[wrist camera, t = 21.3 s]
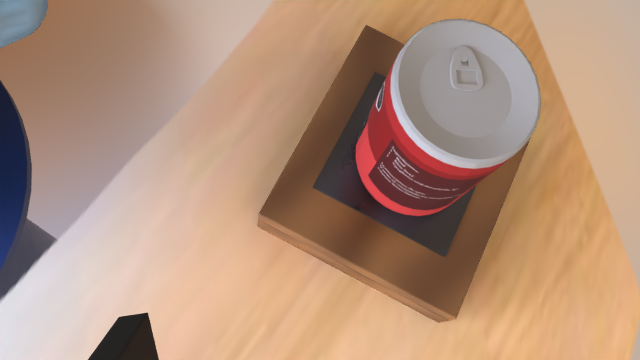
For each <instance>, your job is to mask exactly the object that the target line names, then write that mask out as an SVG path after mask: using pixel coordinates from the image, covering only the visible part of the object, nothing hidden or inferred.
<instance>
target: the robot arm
mask: <svg viewBox="0 0 640 360" xmlns="http://www.w3.org/2000/svg"><path fill="white" fill-rule="evenodd" d="M47 8H48V1H47V0H0V48H2V47H4V46H6V45H8V44H11V43H13V42H15V41H17V40H19V39H22V38H24V37H26V36H28V35H30V34H32V33H33V32H34V31H35V30H37V29H38V27H39V26H40V25H41V22H42V21H43V20H44V18H45V16H46V12H47ZM88 360H159V359H158V354H157V350H156V346H155V341H154V337H153V333H152V329H151V324H150V320H149V316H148V313H143V314H136V315H129V316H122V317H119V318H118V319H117V321H116V322H115V323H114V325H113V326H112V327H111V329H110V330H109V332H108V333H107V334H106V336H105V337H104V338H103V340H102V341H101V343H100V344H99V345H98V347H97V348H96V349H95V351H94V352H93V354H92V355H91V356H90V358H89V359H88Z"/></svg>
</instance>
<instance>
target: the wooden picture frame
mask: <svg viewBox="0 0 640 360" xmlns="http://www.w3.org/2000/svg"><path fill="white" fill-rule="evenodd" d="M404 46H405V45H404V44H402V43H400V42H398V41H396V40H395V39H393V38H391V37H389V36H387V35H385V34H383V33H381V32H379V31H377V30H375V29H373V28H371V27H369V26H367V25H366V26H365V27H364V29H363V31H362V32H361V34H360V36H359V38H358V40H357V41H356V43H355V45H354V47H353V48H352V50H351V52H350V54H349V55H348V57H347V59H346V61H345V62H344V64H343V66H342V68H341V70H340V71H339V73H338V75H337V77H336V78H335V80H334V82H333V84H332V85H331V87H330V89H329V91H328V92H327V94H326V96H325V98H324V100H323V101H322V103H321V105H320V107H319V108H318V110H317V112H316V114H315V115H314V117H313V119H312V121H311V122H310V124H309V126H308V128H307V129H306V131H305V133H304V135H303V137H302V138H301V140H300V142H299V144H298V145H297V147H296V149H295V151H294V152H293V154H292V156H291V158H290V159H289V161H288V163H287V165H286V167H285V168H284V170H283V172H282V174H281V175H280V177H279V179H278V181H277V182H276V184H275V186H274V188H273V189H272V191H271V193H270V195H269V197H268V198H267V200H266V202H265V204H264V205H263V207H262V209H261V211H260V212H259V218H258V225H257V226H258V227H259V228H261V229H263V230H265V231H267V232H269V233H271V234H273V235H275V236H276V237H278V238H280V239H282V240H284V241H286V242H288V243H290V244H292V245H293V246H295V247H297V248H299V249H301V250H303V251H305V252H307V253H308V254H310V255H312V256H314V257H316V258H318V259H320V260H322V261H324V262H325V263H327V264H329V265H331V266H333V267H335V268H337V269H339V270H340V271H342V272H344V273H346V274H348V275H350V276H352V277H354V278H356V279H357V280H359V281H361V282H363V283H365V284H367V285H369V286H371V287H372V288H374V289H376V290H378V291H380V292H382V293H384V294H386V295H388V296H389V297H391V298H393V299H395V300H397V301H399V302H401V303H403V304H405V305H406V306H408V307H410V308H412V309H414V310H416V311H418V312H420V313H421V314H423V315H425V316H427V317H429V318H431V319H433V320H435V321H437V322H443V321H447V320H450V319H455V318H456V317H457V315H458V313H459V310H460V308H461V305H462V303H463V300H464V298H465V296H466V293H467V291H468V288H469V286H470V284H471V281H472V279H473V276H474V274H475V271H476V269H477V267H478V264H479V262H480V259H481V257H482V254H483V252H484V250H485V247H486V245H487V242H488V240H489V237H490V235H491V233H492V230H493V228H494V225H495V223H496V220H497V218H498V216H499V213H500V211H501V208H502V206H503V203H504V201H505V199H506V196H507V194H508V191H509V189H510V186H511V184H512V182H513V179H514V177H515V174H516V172H517V169H518V167H519V165H520V162H521V160H522V157H523V155H524V152H525V150H526V148H527V145H528V143H529V140H530V138H531V137H530V138H529V140H528V141H527V142H526V143H525V145H524V146H523V147H522V148H521V149H520V150H519V151H518V152H517V153H516V154H515V155H514V156H513V157H512V158H510V159H509V160H508V161H507V162H506V163H505V164H503V165H502V166H501V167H499V168H498V169H497V170H495V171H494V172H493V173H491V174H490V175H489V176H487V177H486V178H485V179H483V180H482V181H481V182H480V183H478V184H477V185H476V186H474V187H473V188H472V189H470V190H469V191H468V192H466V193H465V194H464V195H462V196H461V197H460V198H459V199H457V200H456V201H455V202H453V203H452V204H451V205H449V206H448V207H446V208H444V209H443V210H441V211H439V212H436V213H433V214H430V215H423V216H413V215H404V214H401V213H398V212H394V211H392V210H390V209H388V208H386V207H384V206H383V205H382V204H380V203H379V202H378V201H377V200H375V199H374V197H373V196H372V195H371V194H370V193H369V192H368V190H367V189H366V187H365V185H364V184H363V182H362V179H361V177H360V174H359V171H358V168H357V162H356V143H357V139H358V135H359V133H360V130H361V128H362V126H363V124H364V122H365V120H366V118H367V116H368V114H369V112H370V110H371V108H372V106H373V104H374V102H375V100H376V98H377V96H378V94H379V91H380V89H381V87H382V85H383V83H384V81H385V79H386V77H387V75H388V73H389V71H390V69H391V67H392V65H393V63H394V61H395V60H396V58H397V56H398V54H399V52H400V51H401V50H402V48H403V47H404Z"/></svg>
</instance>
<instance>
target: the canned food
mask: <svg viewBox="0 0 640 360" xmlns="http://www.w3.org/2000/svg"><path fill="white" fill-rule="evenodd" d="M540 109H541V95H540V87H539V83H538V80H537V76H536V74H535V72H534V69H533V67H532V65H531V63H530V61H529V60H528V59H527V57H526V56H525V54H524V53H523V51H522V50H521V49H520V48H519V47H518V46H517V45H516V44H515V43H514V42H513V41H512V40H511V39H510V38H508V37H507V36H506V35H504V34H503V33H501V32H500V31H498V30H496V29H494V28H492V27H490V26H488V25H486V24H483V23H480V22H477V21H473V20H466V19H447V20H442V21H438V22H435V23H432V24H430V25H428V26H426V27H424V28H422V29H420V30H419V31H418V32H417V33H416V34H414V35H413V36H412V37H411V38H410V39H409V41H408V42H407V43H406V44H405V46H404V47H403V48H402V50H401V51H400V52H399V54H398V56H397V58H396V60H395V61H394V63H393V65H392V67H391V69H390V71H389V73H388V75H387V77H386V79H385V81H384V83H383V85H382V87H381V89H380V91H379V94H378V96H377V98H376V100H375V102H374V104H373V106H372V108H371V110H370V112H369V114H368V116H367V118H366V120H365V122H364V124H363V126H362V128H361V130H360V133H359V135H358V139H357V143H356V162H357V168H358V171H359V174H360V177H361V179H362V182H363V184H364V185H365V187H366V189H367V190H368V192H369V193H370V194H371V195H372V196H373V197H374V199H375V200H377V201H378V202H379V203H380V204H382V205H383V206H384V207H386V208H388V209H390V210H392V211H394V212H398V213H401V214H404V215H413V216H423V215H430V214H433V213H436V212H439V211H441V210H443V209H444V208H446V207H448V206H449V205H451V204H452V203H453V202H455V201H456V200H457V199H459V198H460V197H461V196H462V195H464V194H465V193H466V192H468V191H469V190H470V189H472V188H473V187H474V186H476V185H477V184H478V183H480V182H481V181H482V180H483V179H485V178H486V177H487V176H489V175H490V174H491V173H493V172H494V171H495V170H497V169H498V168H499V167H501V166H502V165H503V164H505V163H506V162H507V161H508V160H509V159H510V158H512V157H513V156H514V155H515V154H516V153H517V152H518V151H519V150H520V149H521V148H522V147H523V146H524V145H525V143H526V142H527V141H528V140H529V138H530V137H531V135H532V134H533V132H534V130H535V128H536V125H537V123H538V120H539V117H540Z"/></svg>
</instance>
